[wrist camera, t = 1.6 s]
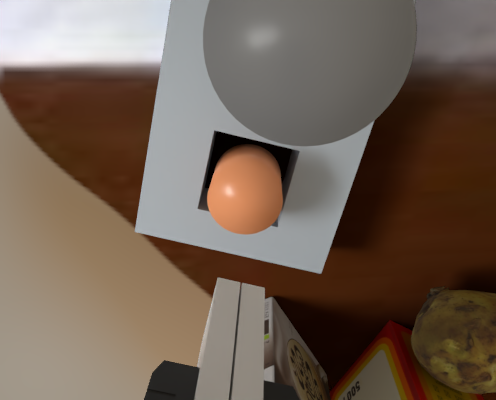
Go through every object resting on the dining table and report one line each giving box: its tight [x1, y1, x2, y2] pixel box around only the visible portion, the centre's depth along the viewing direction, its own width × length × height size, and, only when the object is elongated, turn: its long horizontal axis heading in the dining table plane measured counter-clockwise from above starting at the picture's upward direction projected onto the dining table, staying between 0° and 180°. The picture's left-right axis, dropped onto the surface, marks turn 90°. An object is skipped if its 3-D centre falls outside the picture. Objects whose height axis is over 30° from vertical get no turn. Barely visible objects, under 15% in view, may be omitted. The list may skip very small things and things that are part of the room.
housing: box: [135, 0, 416, 274], centre depth 27 cm, size 12×20×4 cm, turn 167°
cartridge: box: [203, 0, 417, 146], centre depth 19 cm, size 5×5×17 cm
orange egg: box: [207, 144, 283, 235], centre depth 27 cm, size 4×4×4 cm
